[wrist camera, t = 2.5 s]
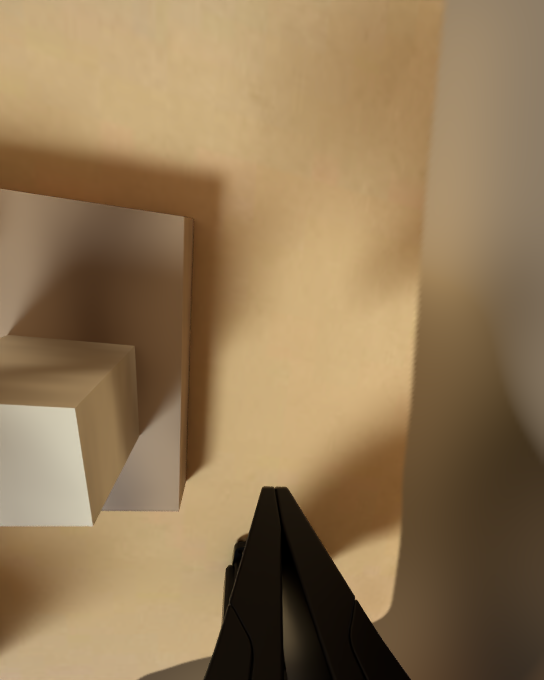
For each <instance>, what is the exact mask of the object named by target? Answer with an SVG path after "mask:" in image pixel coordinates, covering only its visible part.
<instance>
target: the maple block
mask: <svg viewBox="0 0 544 680" xmlns="http://www.w3.org/2000/svg"><path fill="white" fill-rule="evenodd" d="M138 438H139V418H138V399H137V379H136V359H135V346H131V345H120V344H108V343H97V342H85V341H73V340H62V339H50V338H39V337H27V336H16V335H6V336H3V337H1V338H0V526H93V525H94V523H95V521H96V519H97V517H98V515H99V513H100V512H101V510H102V508H103V506H104V504H105V502H106V500H107V498H108V496H109V494H110V492H111V490H112V488H113V486H114V484H115V482H116V480H117V479H118V477H119V475H120V473H121V471H122V469H123V467H124V465H125V463H126V461H127V459H128V457H129V455H130V453H131V451H132V449H133V448H134V446H135V444H136V442H137V440H138Z"/></svg>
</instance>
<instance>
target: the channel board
mask: <svg viewBox="0 0 544 680" xmlns="http://www.w3.org/2000/svg"><path fill="white" fill-rule="evenodd" d="M193 225H194V219H192V218H188V217H183V216H176V215H170V214H163V213H157V212H150V211H144V210H137V209H130V208H124V207H117V206H111V205H104V204H98V203H91V202H84V201H78V200H71V199H65V198H58V197H52V196H45V195H38V194H32V193H25V192H19V191H12V190H6V189H0V338H1V337H3V336H6V335H16V336H27V337H39V338H50V339H62V340H73V341H85V342H97V343H108V344H120V345H131V346H135V359H136V379H137V399H138V418H139V438H138V440H137V442H136V444H135V446H134V448H133V449H132V451H131V453H130V455H129V457H128V459H127V461H126V463H125V465H124V467H123V469H122V471H121V473H120V475H119V477H118V479H117V480H116V482H115V484H114V486H113V488H112V490H111V492H110V494H109V496H108V498H107V500H106V502H105V504H104V506H103V508H102V510H101V511H179V509H180V504H181V500H182V496H183V492H184V487H185V483H186V457H187V424H188V391H189V358H190V324H191V291H192V258H193Z"/></svg>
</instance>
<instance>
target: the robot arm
mask: <svg viewBox="0 0 544 680" xmlns="http://www.w3.org/2000/svg"><path fill="white" fill-rule="evenodd" d="M203 680H411V679H410V678H409V676H408V675H407V673H406V672H405V671H404V669H403V668H402V667H401V665H400V664H399V662H398V661H397V660H396V658H395V657H394V655H393V654H392V653H391V651H390V650H389V648H388V647H387V646H386V644H385V643H384V641H383V640H382V638H381V637H380V635H379V634H378V632H377V631H376V629H375V628H374V626H373V624H372V623H371V621H370V620H369V618H368V617H367V615H366V614H365V612H364V610H363V609H362V607H361V605H360V604H359V602H358V601H357V600H355V596H354V594H353V593H352V591H351V589H350V588H349V586H348V585H347V583H346V581H345V580H344V578H343V576H342V575H341V573H340V572H339V570H338V568H337V567H336V565H335V564H334V562H333V560H332V559H331V557H330V556H329V554H328V552H327V551H326V549H325V547H324V546H323V544H322V543H321V541H320V539H319V538H318V536H317V535H316V533H315V531H314V530H313V528H312V526H311V525H310V523H309V522H308V520H307V518H306V517H305V515H304V514H303V512H302V510H301V509H300V507H299V505H298V504H297V502H296V501H295V499H294V497H293V496H292V494H291V493H290V491H289V489H288V488H287V487H275V488H274V487H268V486H264V487H262V489H261V493H260V496H259V500H258V503H257V507H256V510H255V514H254V517H253V521H252V524H251V528H250V531H249V534H248V538H247V541H246V542H238V543H236V544H235V546H234V553H233V561H232V565H229V566H228V567H227V568H226V573H225V581H224V591H223V608H222V625H221V630H220V633H219V637H218V640H217V643H216V646H215V649H214V652H213V655H212V658H211V660H210V663H209V666H208V669H207V671H206V674H205V676H204V679H203Z"/></svg>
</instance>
